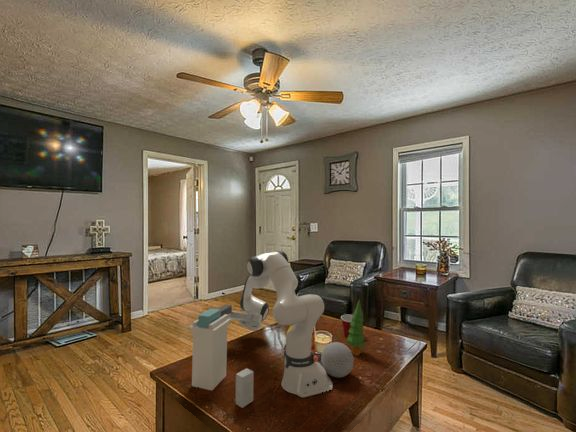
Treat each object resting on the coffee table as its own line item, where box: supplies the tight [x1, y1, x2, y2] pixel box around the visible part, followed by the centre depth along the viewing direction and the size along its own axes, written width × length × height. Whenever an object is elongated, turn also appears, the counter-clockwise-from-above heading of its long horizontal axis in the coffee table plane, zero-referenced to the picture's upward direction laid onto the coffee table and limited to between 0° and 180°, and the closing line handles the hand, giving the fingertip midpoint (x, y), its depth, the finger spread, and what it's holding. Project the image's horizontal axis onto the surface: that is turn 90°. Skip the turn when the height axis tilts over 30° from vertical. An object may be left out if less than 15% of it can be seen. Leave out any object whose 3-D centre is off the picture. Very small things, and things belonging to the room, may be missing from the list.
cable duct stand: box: [189, 314, 232, 391], centre depth 132 cm, size 14×12×28 cm
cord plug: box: [197, 304, 233, 328], centre depth 137 cm, size 22×5×5 cm, turn 163°
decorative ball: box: [320, 341, 354, 379], centre depth 139 cm, size 15×15×15 cm
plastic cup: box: [340, 314, 353, 339], centre depth 184 cm, size 11×11×12 cm
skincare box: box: [235, 367, 255, 409], centre depth 117 cm, size 6×4×12 cm
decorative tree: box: [346, 298, 365, 355], centre depth 163 cm, size 10×9×30 cm
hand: (237, 313), depth 156 cm, fingers open, 8 cm apart
